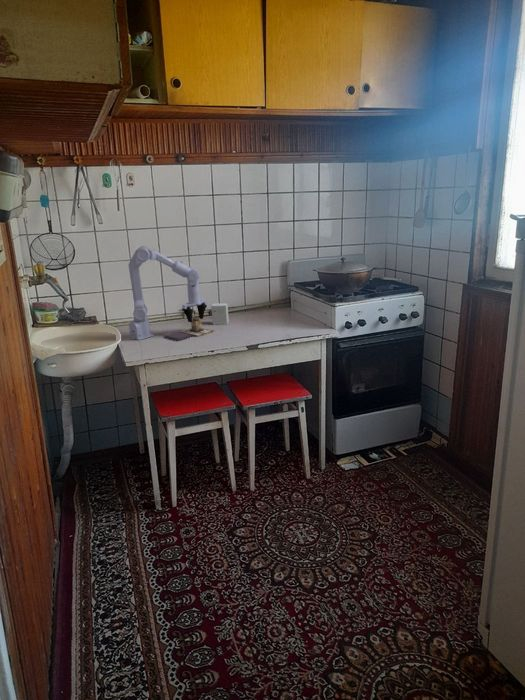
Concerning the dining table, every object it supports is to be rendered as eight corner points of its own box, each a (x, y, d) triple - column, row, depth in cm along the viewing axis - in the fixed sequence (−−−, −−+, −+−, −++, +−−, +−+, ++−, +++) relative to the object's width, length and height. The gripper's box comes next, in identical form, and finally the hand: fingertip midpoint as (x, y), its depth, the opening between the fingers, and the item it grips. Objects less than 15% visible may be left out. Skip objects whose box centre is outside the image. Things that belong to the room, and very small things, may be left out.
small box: (228, 322, 268) (227, 303, 265) (227, 324, 263) (226, 305, 260) (214, 322, 269) (213, 303, 266) (212, 324, 264) (211, 305, 260)
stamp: (196, 332, 247) (195, 319, 245) (189, 331, 250) (188, 318, 248) (203, 330, 250) (202, 317, 248) (197, 329, 253) (196, 316, 251)
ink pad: (178, 341, 236) (178, 339, 236) (163, 337, 243) (163, 335, 242) (192, 336, 243) (192, 334, 242) (177, 333, 249) (177, 331, 249)
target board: (197, 336, 242) (197, 335, 242) (179, 332, 250) (179, 331, 250) (214, 331, 250) (214, 330, 250) (195, 327, 259) (195, 326, 258)
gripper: (188, 297, 237) (190, 324, 241) (209, 292, 247) (211, 318, 251) (178, 295, 241) (180, 322, 245) (200, 290, 252) (201, 316, 256)
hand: (195, 320), depth 248 cm, fingers open, 7 cm apart
